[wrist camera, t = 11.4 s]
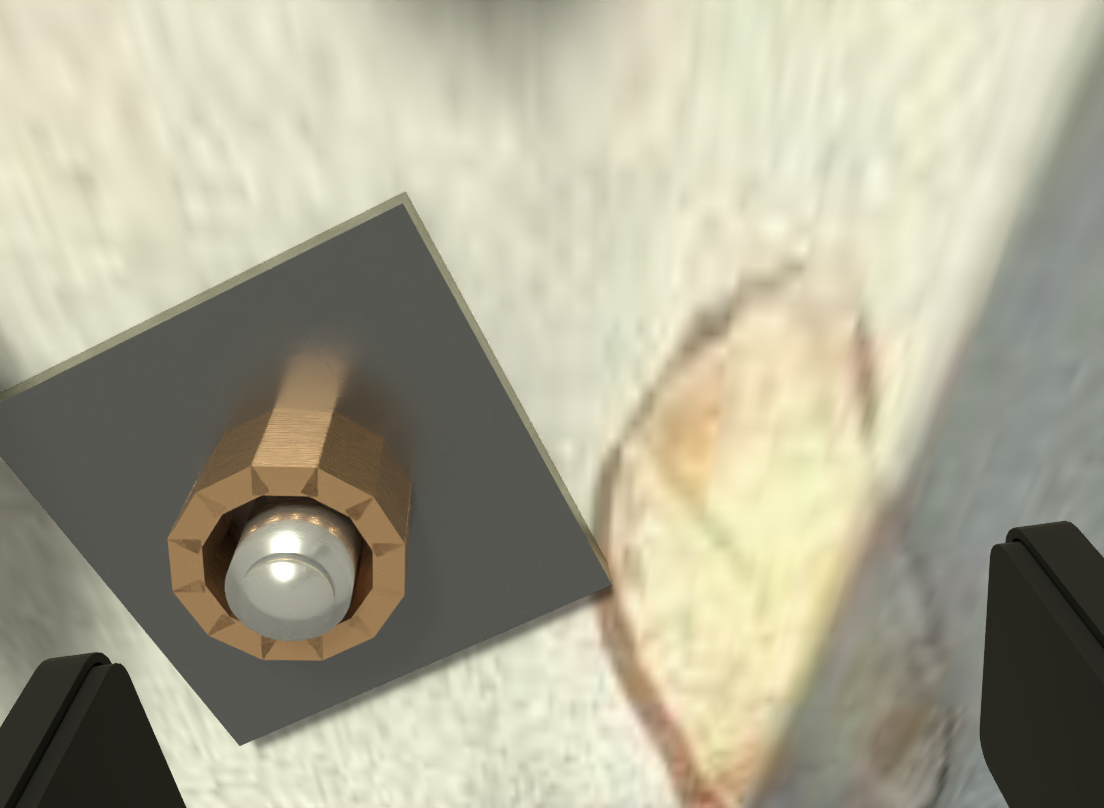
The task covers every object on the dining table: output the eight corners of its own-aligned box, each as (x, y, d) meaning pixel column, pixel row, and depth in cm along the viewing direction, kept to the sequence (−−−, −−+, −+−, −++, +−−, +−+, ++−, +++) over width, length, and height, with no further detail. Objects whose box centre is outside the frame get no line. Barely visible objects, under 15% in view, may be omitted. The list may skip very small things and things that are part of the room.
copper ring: (343, 374, 34) (328, 428, 30) (448, 538, 37) (445, 605, 33) (157, 465, 35) (121, 528, 31) (274, 618, 38) (253, 692, 34)
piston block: (405, 191, 33) (389, 256, 26) (607, 562, 39) (633, 686, 33) (-12, 398, 35) (-120, 505, 28) (247, 719, 41) (206, 864, 35)
